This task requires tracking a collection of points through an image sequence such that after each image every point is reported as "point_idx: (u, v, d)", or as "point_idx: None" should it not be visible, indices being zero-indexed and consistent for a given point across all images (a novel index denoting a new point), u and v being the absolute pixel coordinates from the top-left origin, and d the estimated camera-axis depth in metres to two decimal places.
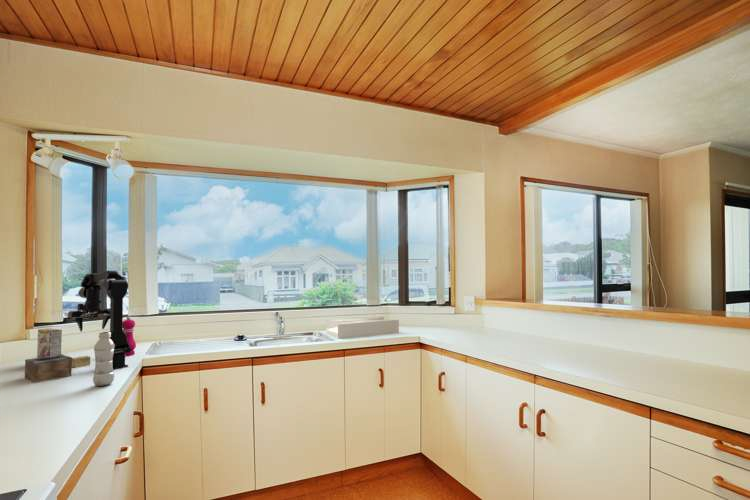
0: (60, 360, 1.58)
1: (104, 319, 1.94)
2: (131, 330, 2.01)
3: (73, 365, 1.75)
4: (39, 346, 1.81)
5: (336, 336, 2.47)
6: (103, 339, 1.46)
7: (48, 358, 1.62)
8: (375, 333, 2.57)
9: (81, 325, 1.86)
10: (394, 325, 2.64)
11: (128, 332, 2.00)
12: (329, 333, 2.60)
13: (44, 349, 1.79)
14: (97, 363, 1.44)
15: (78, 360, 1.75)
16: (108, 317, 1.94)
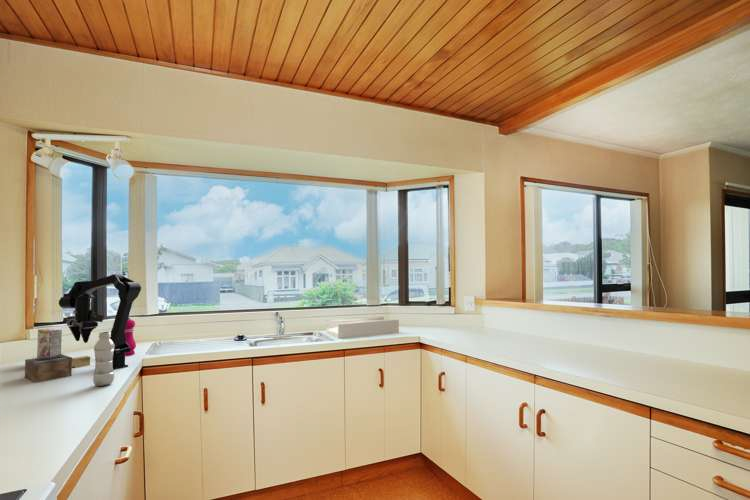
0: (60, 360, 1.58)
1: None
2: (131, 330, 2.01)
3: (73, 365, 1.75)
4: (39, 346, 1.81)
5: (337, 336, 2.47)
6: (103, 339, 1.46)
7: (48, 358, 1.62)
8: (375, 333, 2.57)
9: (73, 334, 1.80)
10: (394, 325, 2.64)
11: (128, 332, 2.00)
12: (329, 333, 2.60)
13: (44, 349, 1.79)
14: (97, 363, 1.44)
15: (78, 360, 1.75)
16: (80, 330, 1.73)
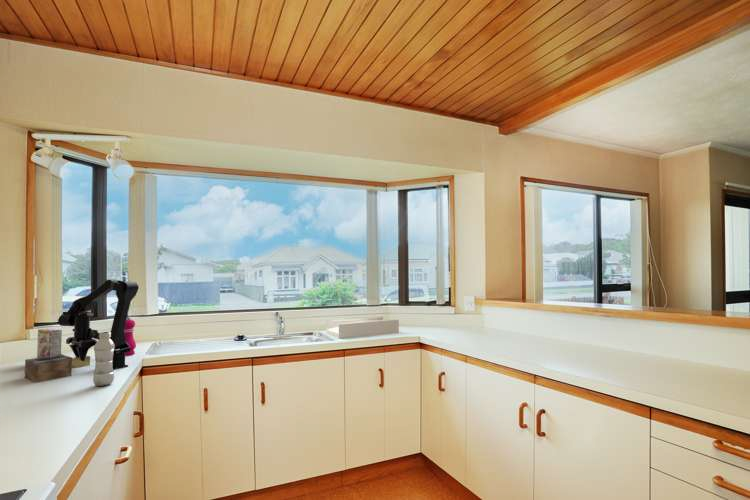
0: (60, 360, 1.58)
1: None
2: (131, 330, 2.01)
3: (73, 365, 1.75)
4: (39, 346, 1.81)
5: (337, 336, 2.46)
6: (103, 339, 1.46)
7: (48, 358, 1.62)
8: (375, 333, 2.57)
9: (74, 353, 1.78)
10: (394, 325, 2.64)
11: (128, 332, 2.00)
12: (329, 334, 2.59)
13: (44, 349, 1.79)
14: (97, 363, 1.44)
15: (78, 359, 1.75)
16: (77, 349, 1.74)
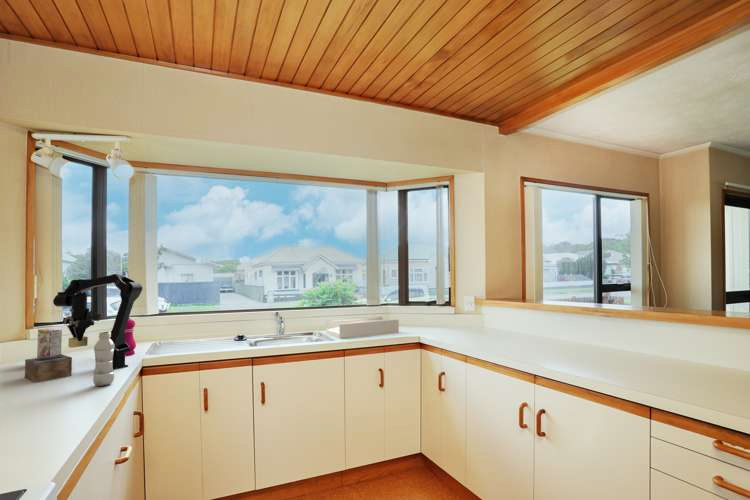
0: (60, 360, 1.58)
1: None
2: (131, 330, 2.01)
3: (70, 345, 1.73)
4: (39, 346, 1.81)
5: (338, 336, 2.46)
6: (103, 339, 1.46)
7: (48, 358, 1.62)
8: (376, 333, 2.58)
9: (71, 333, 1.77)
10: (394, 325, 2.65)
11: (128, 332, 2.00)
12: (329, 334, 2.59)
13: (44, 349, 1.79)
14: (97, 363, 1.44)
15: (75, 339, 1.74)
16: (74, 329, 1.72)
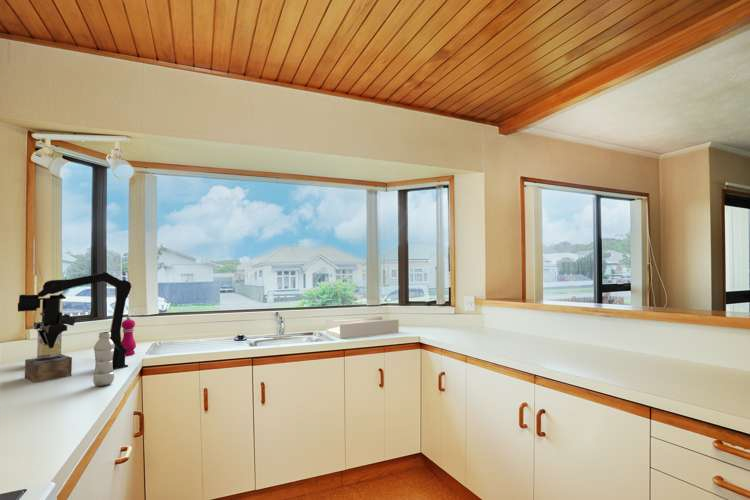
0: (60, 360, 1.58)
1: None
2: (131, 330, 2.01)
3: (40, 352, 1.57)
4: None
5: (338, 336, 2.46)
6: (103, 339, 1.46)
7: (48, 358, 1.62)
8: (376, 333, 2.58)
9: None
10: (394, 325, 2.65)
11: (128, 332, 2.00)
12: (329, 334, 2.58)
13: None
14: (97, 363, 1.44)
15: (46, 346, 1.57)
16: (44, 335, 1.56)
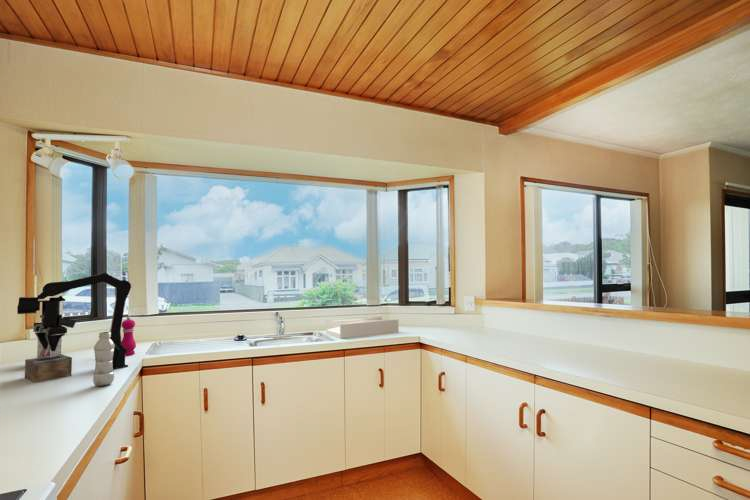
0: (60, 360, 1.58)
1: None
2: (131, 330, 2.01)
3: None
4: (39, 346, 1.81)
5: (339, 336, 2.46)
6: (103, 339, 1.46)
7: (48, 358, 1.62)
8: (376, 333, 2.58)
9: (40, 342, 1.61)
10: (394, 325, 2.66)
11: (128, 332, 2.00)
12: (329, 334, 2.58)
13: (44, 349, 1.79)
14: (97, 363, 1.44)
15: None
16: (46, 338, 1.55)
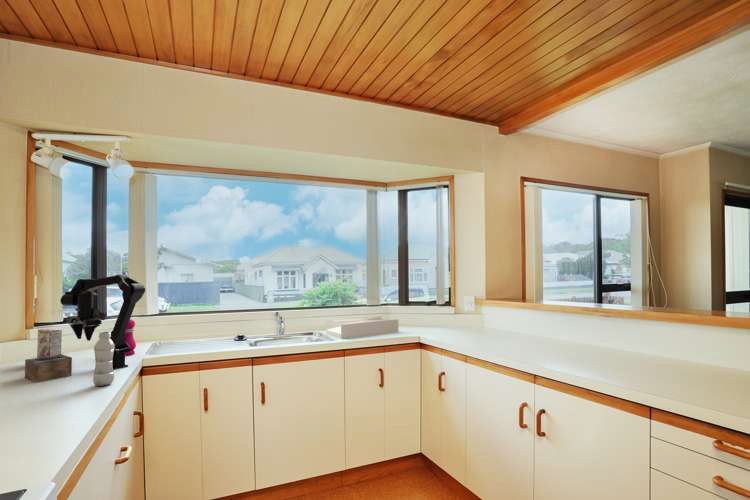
0: (60, 360, 1.58)
1: None
2: (131, 330, 2.01)
3: None
4: (39, 346, 1.81)
5: (339, 336, 2.45)
6: (103, 339, 1.46)
7: (48, 358, 1.62)
8: (376, 333, 2.58)
9: (75, 332, 1.79)
10: (394, 325, 2.66)
11: (128, 332, 2.00)
12: (329, 334, 2.58)
13: (44, 349, 1.79)
14: (97, 363, 1.44)
15: None
16: (83, 328, 1.72)
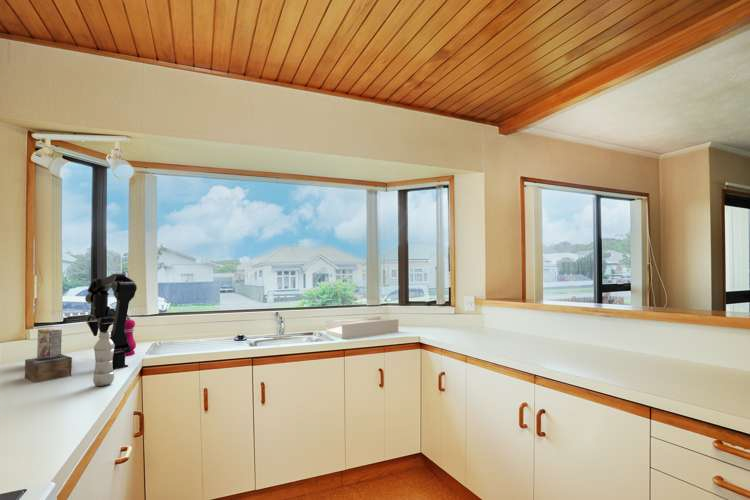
0: (60, 360, 1.58)
1: None
2: (131, 330, 2.01)
3: None
4: (39, 346, 1.81)
5: (340, 336, 2.45)
6: (103, 339, 1.46)
7: (48, 358, 1.62)
8: (377, 333, 2.58)
9: (91, 330, 1.88)
10: (394, 324, 2.67)
11: (128, 332, 2.00)
12: (330, 334, 2.57)
13: (44, 349, 1.79)
14: (97, 363, 1.44)
15: None
16: (98, 326, 1.81)
